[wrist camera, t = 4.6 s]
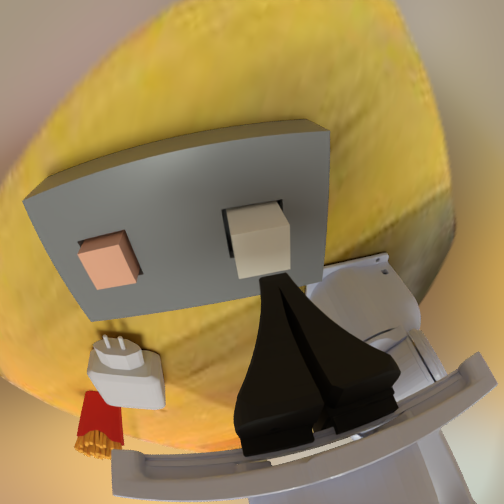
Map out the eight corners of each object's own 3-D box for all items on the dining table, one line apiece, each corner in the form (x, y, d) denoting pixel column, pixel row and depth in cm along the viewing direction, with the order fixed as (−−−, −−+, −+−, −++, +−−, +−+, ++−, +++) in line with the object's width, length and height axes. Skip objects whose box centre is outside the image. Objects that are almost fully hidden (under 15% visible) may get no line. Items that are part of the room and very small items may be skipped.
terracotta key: (128, 219, 17) (118, 244, 15) (142, 255, 19) (136, 282, 17) (90, 229, 17) (77, 254, 15) (106, 263, 19) (97, 289, 17)
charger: (156, 320, 27) (165, 382, 36) (78, 314, 25) (107, 377, 33) (154, 357, 24) (165, 410, 32) (68, 349, 21) (104, 405, 30)
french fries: (121, 394, 37) (119, 459, 27) (126, 402, 39) (126, 463, 30) (77, 388, 35) (71, 450, 25) (84, 397, 37) (80, 455, 28)
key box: (306, 119, 17) (330, 130, 14) (306, 252, 25) (322, 281, 22) (46, 177, 16) (22, 200, 13) (100, 290, 23) (91, 321, 20)
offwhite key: (276, 200, 17) (289, 225, 15) (278, 241, 19) (290, 269, 17) (226, 209, 17) (231, 235, 14) (232, 249, 19) (238, 279, 16)
